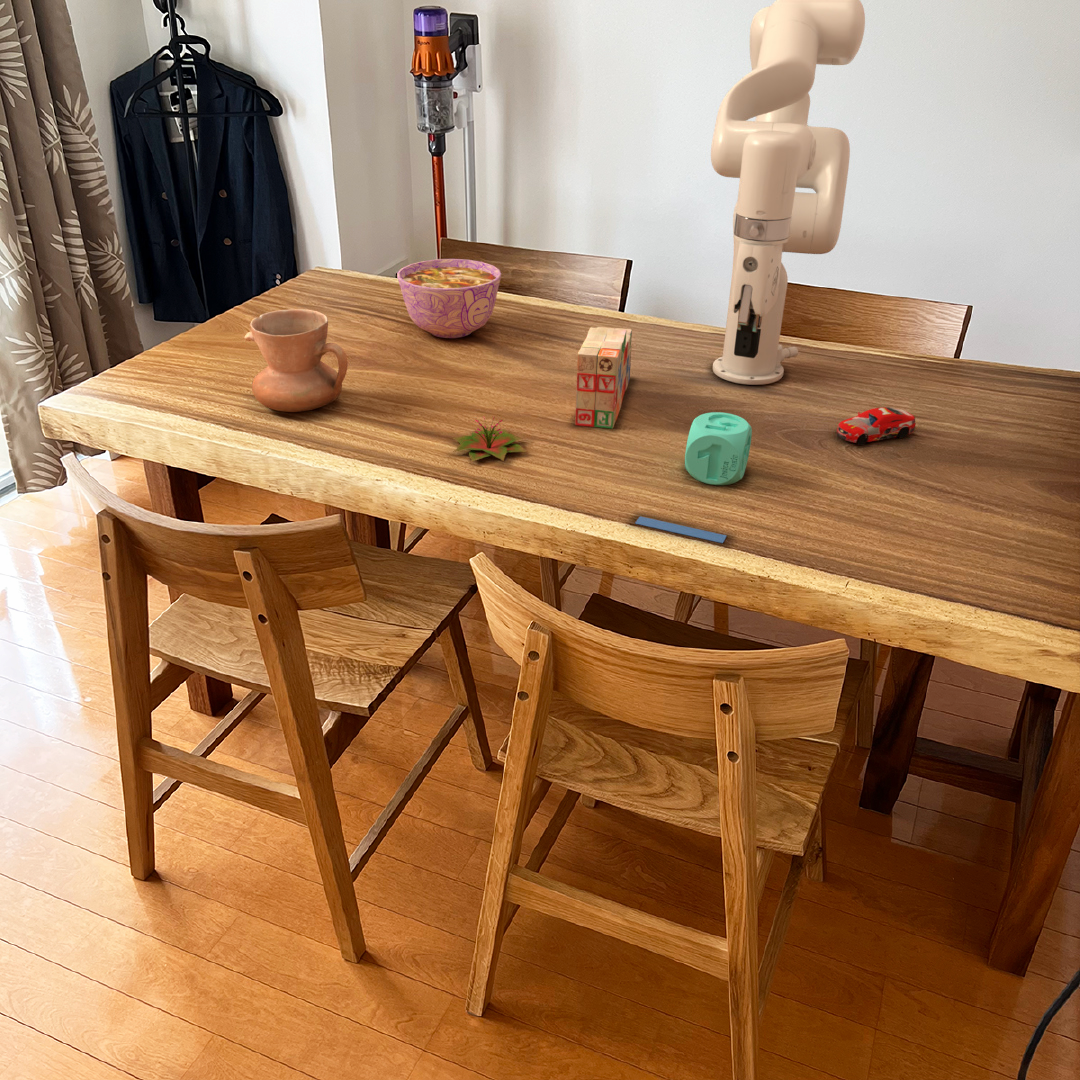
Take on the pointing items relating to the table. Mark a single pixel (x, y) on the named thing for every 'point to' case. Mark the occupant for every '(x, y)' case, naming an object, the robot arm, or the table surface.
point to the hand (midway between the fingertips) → (745, 354)
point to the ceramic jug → (295, 360)
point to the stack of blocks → (602, 376)
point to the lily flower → (489, 443)
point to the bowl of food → (449, 295)
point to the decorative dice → (718, 448)
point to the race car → (876, 425)
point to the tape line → (681, 529)
